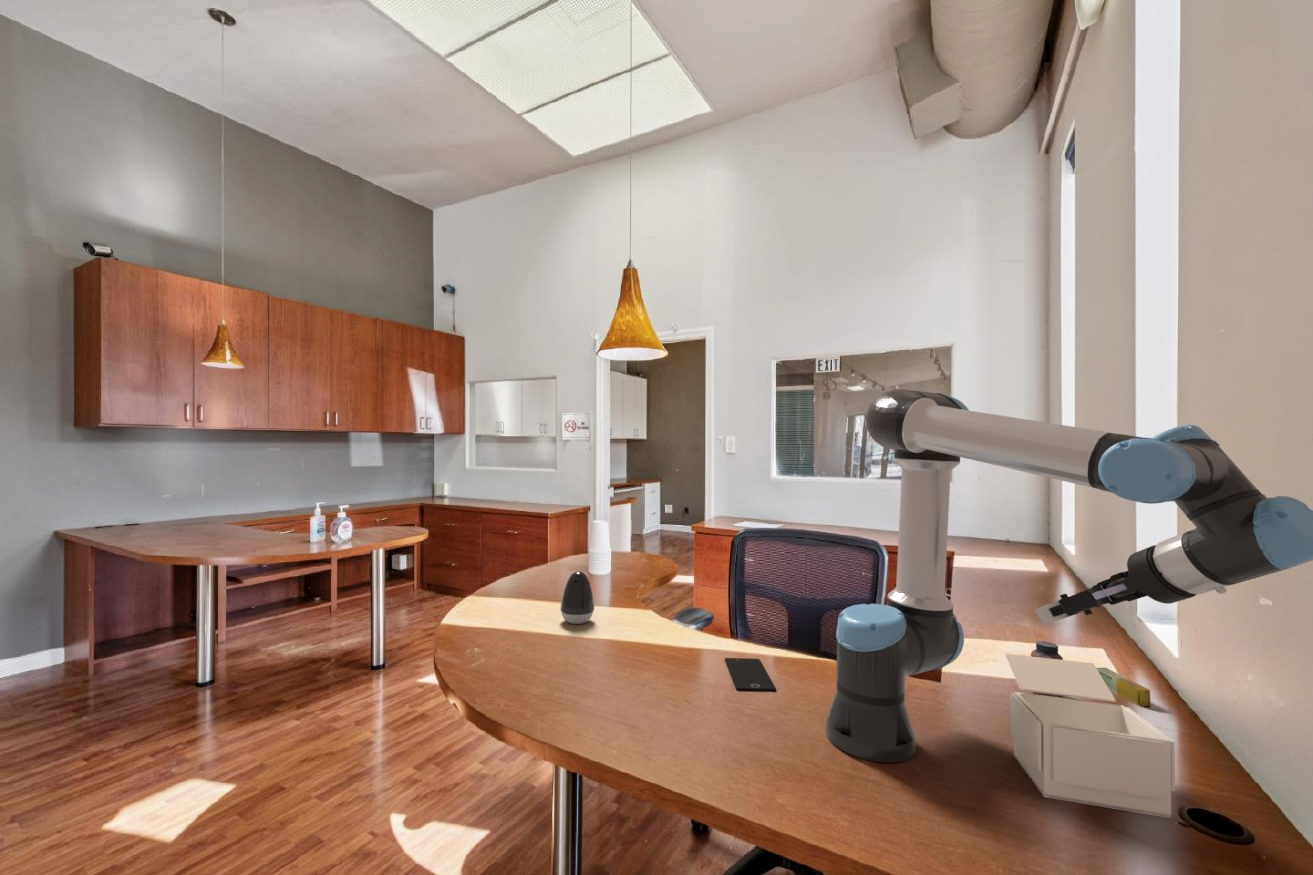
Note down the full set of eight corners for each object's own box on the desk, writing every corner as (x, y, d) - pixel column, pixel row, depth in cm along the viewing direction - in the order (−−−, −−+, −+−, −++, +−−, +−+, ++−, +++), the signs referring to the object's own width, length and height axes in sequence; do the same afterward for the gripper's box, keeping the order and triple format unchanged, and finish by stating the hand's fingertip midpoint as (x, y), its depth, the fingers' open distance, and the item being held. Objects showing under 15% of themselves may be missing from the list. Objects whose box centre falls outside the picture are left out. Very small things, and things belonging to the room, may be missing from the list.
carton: (1041, 798, 81) (1041, 725, 82) (1009, 755, 93) (1009, 691, 94) (1179, 822, 77) (1178, 744, 77) (1127, 773, 89) (1127, 705, 89)
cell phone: (736, 692, 117) (736, 687, 117) (724, 661, 135) (724, 657, 135) (776, 693, 117) (776, 688, 117) (759, 662, 135) (759, 658, 135)
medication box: (1095, 684, 126) (1094, 667, 126) (1107, 684, 126) (1106, 667, 126) (1139, 707, 114) (1138, 689, 114) (1152, 708, 114) (1151, 689, 114)
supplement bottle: (1028, 694, 119) (1028, 642, 119) (1032, 686, 123) (1032, 636, 124) (1061, 703, 115) (1061, 649, 115) (1064, 694, 119) (1064, 643, 120)
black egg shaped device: (554, 625, 158) (556, 574, 158) (566, 615, 168) (568, 567, 169) (588, 628, 156) (589, 576, 157) (597, 618, 166) (599, 569, 167)
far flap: (1005, 653, 100) (1005, 655, 101) (1020, 688, 93) (1020, 690, 94) (1093, 663, 97) (1092, 664, 97) (1115, 700, 90) (1115, 702, 90)
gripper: (1166, 605, 70) (1027, 646, 89) (1227, 586, 74) (1082, 629, 93) (1126, 551, 73) (1001, 602, 93) (1186, 536, 77) (1055, 588, 97)
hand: (1042, 616), depth 93 cm, fingers closed
